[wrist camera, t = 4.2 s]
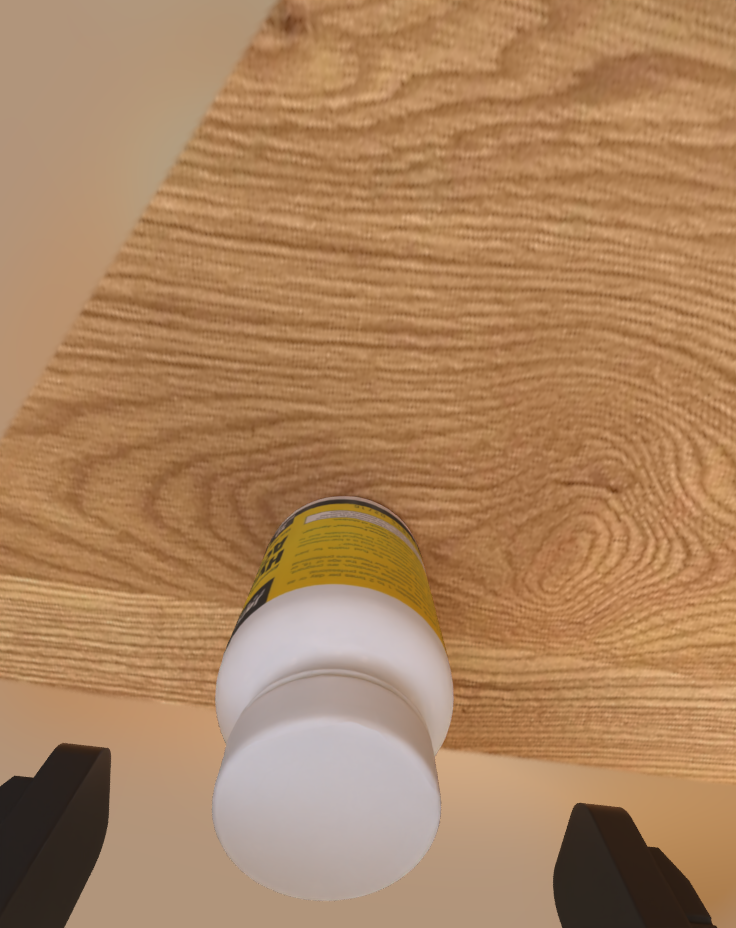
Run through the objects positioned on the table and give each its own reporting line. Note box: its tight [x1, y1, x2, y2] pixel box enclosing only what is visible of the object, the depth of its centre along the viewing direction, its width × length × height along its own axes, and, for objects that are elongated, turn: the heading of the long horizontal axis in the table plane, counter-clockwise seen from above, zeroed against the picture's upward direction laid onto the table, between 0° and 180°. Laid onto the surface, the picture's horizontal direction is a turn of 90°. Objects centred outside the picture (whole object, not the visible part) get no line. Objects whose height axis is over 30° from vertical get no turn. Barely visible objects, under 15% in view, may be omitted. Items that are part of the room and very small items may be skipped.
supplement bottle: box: [212, 496, 454, 901], centre depth 14 cm, size 5×5×10 cm
